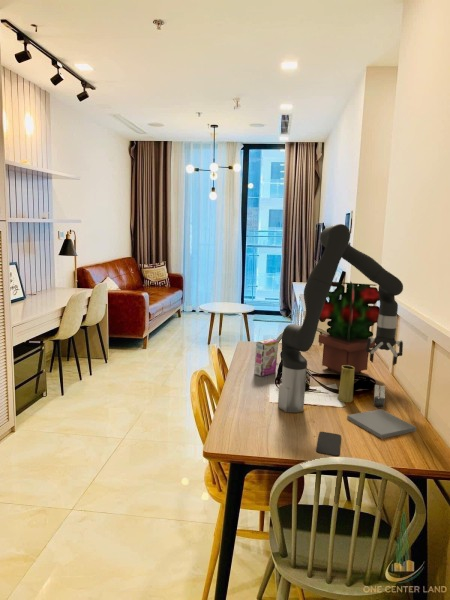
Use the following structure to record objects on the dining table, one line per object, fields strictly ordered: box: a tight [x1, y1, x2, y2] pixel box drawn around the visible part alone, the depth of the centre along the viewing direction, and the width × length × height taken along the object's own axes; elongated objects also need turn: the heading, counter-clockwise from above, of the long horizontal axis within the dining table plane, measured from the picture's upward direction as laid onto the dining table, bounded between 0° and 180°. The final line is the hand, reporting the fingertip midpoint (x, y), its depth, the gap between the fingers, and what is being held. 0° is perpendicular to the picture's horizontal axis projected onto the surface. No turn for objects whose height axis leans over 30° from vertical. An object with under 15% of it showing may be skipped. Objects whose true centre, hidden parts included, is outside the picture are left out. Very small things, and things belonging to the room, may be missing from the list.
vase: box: [337, 365, 355, 403], centre depth 185 cm, size 6×6×14 cm
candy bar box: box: [253, 338, 279, 378], centre depth 213 cm, size 11×5×16 cm, turn 134°
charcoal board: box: [346, 408, 417, 439], centre depth 163 cm, size 17×17×2 cm
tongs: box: [373, 384, 386, 409], centre depth 187 cm, size 18×4×4 cm, turn 161°
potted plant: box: [318, 280, 380, 375], centre depth 221 cm, size 22×22×45 cm
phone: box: [315, 431, 342, 457], centre depth 146 cm, size 7×1×15 cm
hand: (382, 363), depth 185 cm, fingers open, 8 cm apart
